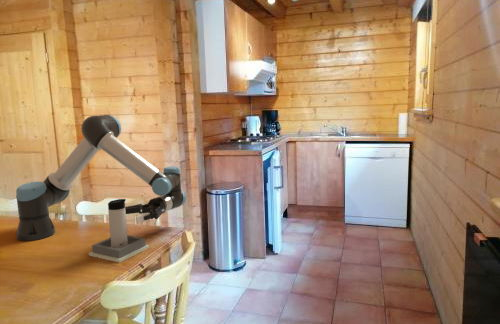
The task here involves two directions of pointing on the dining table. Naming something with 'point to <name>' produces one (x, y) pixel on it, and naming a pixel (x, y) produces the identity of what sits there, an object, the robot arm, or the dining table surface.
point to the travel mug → (117, 223)
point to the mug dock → (115, 254)
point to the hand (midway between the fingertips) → (123, 218)
